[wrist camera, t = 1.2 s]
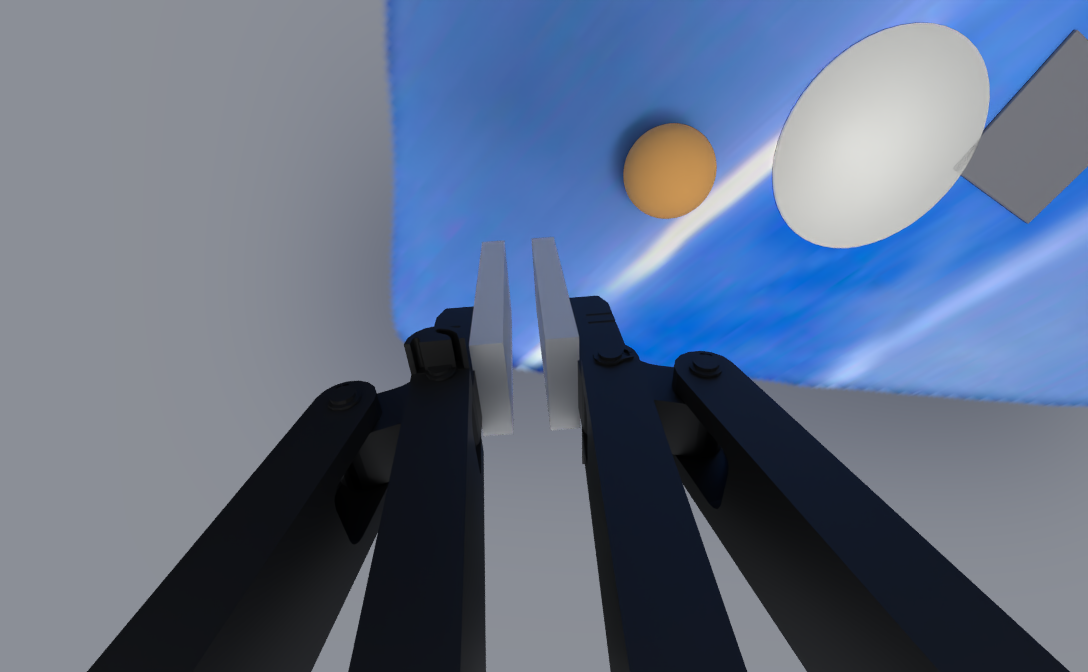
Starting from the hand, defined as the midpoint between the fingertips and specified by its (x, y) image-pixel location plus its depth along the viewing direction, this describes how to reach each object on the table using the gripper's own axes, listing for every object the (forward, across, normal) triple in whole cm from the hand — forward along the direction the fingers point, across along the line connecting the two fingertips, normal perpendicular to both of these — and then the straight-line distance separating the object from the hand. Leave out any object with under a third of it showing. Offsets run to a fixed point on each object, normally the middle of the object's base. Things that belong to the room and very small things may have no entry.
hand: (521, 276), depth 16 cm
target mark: (+16, +24, 0) cm, 29 cm away
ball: (+14, +9, 0) cm, 17 cm away
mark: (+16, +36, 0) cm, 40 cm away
